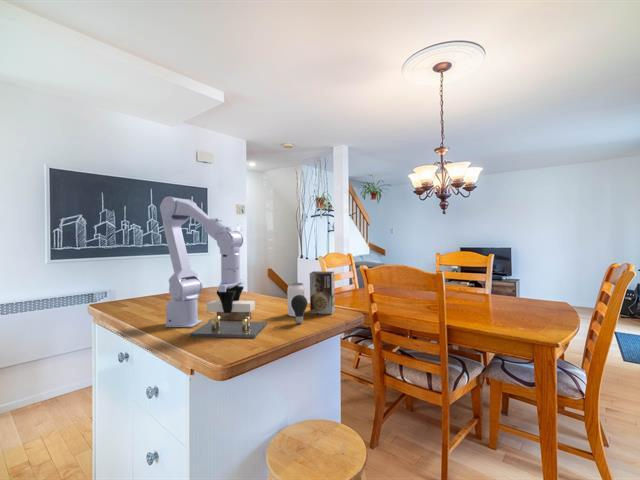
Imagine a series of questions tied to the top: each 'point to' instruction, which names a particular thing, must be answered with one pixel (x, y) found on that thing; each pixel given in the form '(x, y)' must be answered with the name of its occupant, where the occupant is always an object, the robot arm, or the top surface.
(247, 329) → the plate
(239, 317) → the brown rectangular block
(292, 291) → the can
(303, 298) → the light bulb
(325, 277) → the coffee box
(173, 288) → the robot arm
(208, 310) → the board
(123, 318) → the top surface
